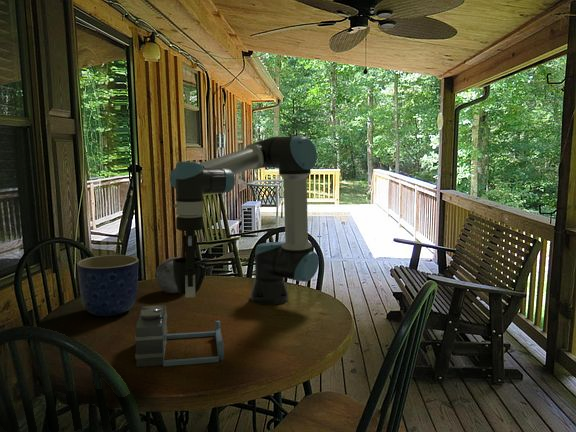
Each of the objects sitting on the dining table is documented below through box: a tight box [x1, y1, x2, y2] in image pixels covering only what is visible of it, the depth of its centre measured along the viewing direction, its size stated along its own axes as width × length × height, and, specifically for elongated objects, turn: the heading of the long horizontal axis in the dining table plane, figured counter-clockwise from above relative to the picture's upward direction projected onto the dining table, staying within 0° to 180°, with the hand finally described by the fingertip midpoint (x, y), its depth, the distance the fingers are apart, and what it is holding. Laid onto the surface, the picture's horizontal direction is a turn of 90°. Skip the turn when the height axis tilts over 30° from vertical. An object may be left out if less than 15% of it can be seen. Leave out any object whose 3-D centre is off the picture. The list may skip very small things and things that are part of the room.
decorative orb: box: [154, 257, 180, 294], centre depth 186 cm, size 15×14×15 cm
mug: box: [173, 256, 206, 295], centre depth 129 cm, size 8×12×10 cm
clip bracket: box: [162, 320, 225, 367], centre depth 132 cm, size 16×20×5 cm
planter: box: [76, 254, 140, 317], centre depth 162 cm, size 21×21×19 cm
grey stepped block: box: [134, 304, 168, 368], centre depth 129 cm, size 7×18×13 cm, turn 12°
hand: (190, 291), depth 130 cm, fingers closed on mug, 10 cm apart
